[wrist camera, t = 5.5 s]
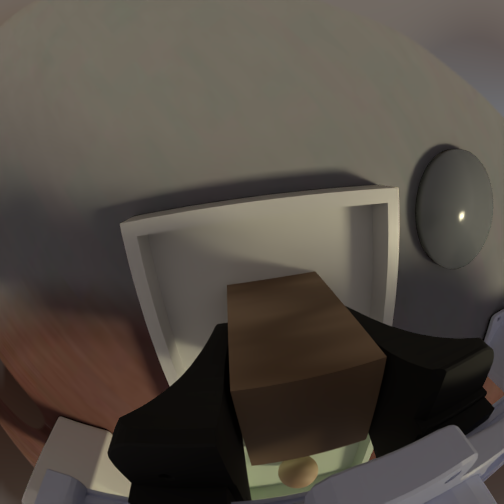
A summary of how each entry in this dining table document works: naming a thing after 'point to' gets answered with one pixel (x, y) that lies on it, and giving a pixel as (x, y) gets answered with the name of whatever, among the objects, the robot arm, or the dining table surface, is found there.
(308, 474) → the cork ball
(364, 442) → the green box
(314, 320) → the walnut block
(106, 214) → the dining table surface
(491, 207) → the slate coaster
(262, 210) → the grey box
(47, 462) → the jar
